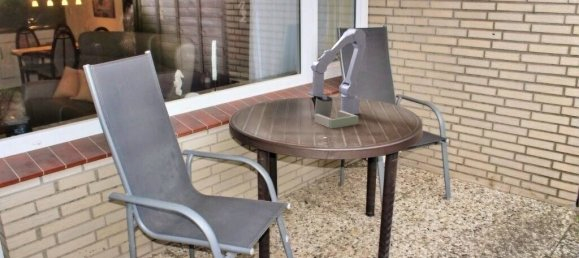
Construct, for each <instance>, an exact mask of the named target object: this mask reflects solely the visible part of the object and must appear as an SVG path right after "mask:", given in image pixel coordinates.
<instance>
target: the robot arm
mask: <svg viewBox="0 0 579 258" xmlns="http://www.w3.org/2000/svg"><path fill="white" fill-rule="evenodd" d="M366 37H367V34H366V33H365V32H364V30H363V29H361V28H359V29H358V28H353V27H349V28H348V29H346V31H344V32H343V34H342V36H341V37H340V38H339V39H338V40H337V42H336V43H335V44H334V45H333V46H332V48H331V49H327V50H324V51H323V54H322V55H321V56H320V57H318V58H317V60H316V61H315V60H314V61H313V62H312V64H311V65H310V68H311V71H312V87H311V89H312V90H308V92H307V94H308V95H309V96H313V97H311V98H310V99H311V101H312V103H313V110H314V112H315V104H316V97H317V96H318V99H321V100H322V99H323V100H327V96H328V95H326V94H325V93H324V87H325V86H324V85H325V84H324V83H325V72H327V68H328V66H329V65H330V64H331V63H332V62H333V61H334V60H335V59H336V57H337V54H338V53H339V52H340V51H341V50H342V49H343V48H344V47H346V45H347V44H351V45H352V46H353V53H352V56H351V59H350V63H349V66H348V70H347V74H346V76H345V78H344V79H343V80H342V82H341V84H340V85H339V87H338V91H339V94H340V97H341V98H340V110H341V111H344V112H347V113H350V114H353V115H359V114H361V112H360V105H361V104H360V98H359V96H357V95H358V91H359V90H358V86H359V83H358V81H357V79H358V76H359V73H360V68H361V65H362V62H363V59H364V55H365V52H366V49H367V44H366V43H367V42H366ZM337 114H338V111H337Z"/></svg>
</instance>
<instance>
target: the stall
mask: <svg viewBox="0 0 579 258" xmlns="http://www.w3.org/2000/svg"><path fill="white" fill-rule="evenodd" d="M337 112H338V113H337V118H331V117H330V118H329V117H326V116H323V115H320V114H315V117H314V123H316V124H319V125H321V126H323V127H326V128H328V129H332V130H333V129H337V128H343V127H348V126H349V127H350V126H355V125H358V124H359V116H358V114H350V113H347V112H344V111H341V109H340V110H337Z"/></svg>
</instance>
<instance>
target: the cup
mask: <svg viewBox="0 0 579 258" xmlns="http://www.w3.org/2000/svg"><path fill="white" fill-rule="evenodd" d="M326 96H327V100H323V99H322V100H321V99H318V96H317V97H316V104H315V111H314V112H313V114H314V115H313V117H314V118H315V114H320V115H323V116H326V117H329V118H331V116H332V114H331V113H332V108H333V107H332V106H333V100H334V98H333V97H331V96H328V95H326Z"/></svg>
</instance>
